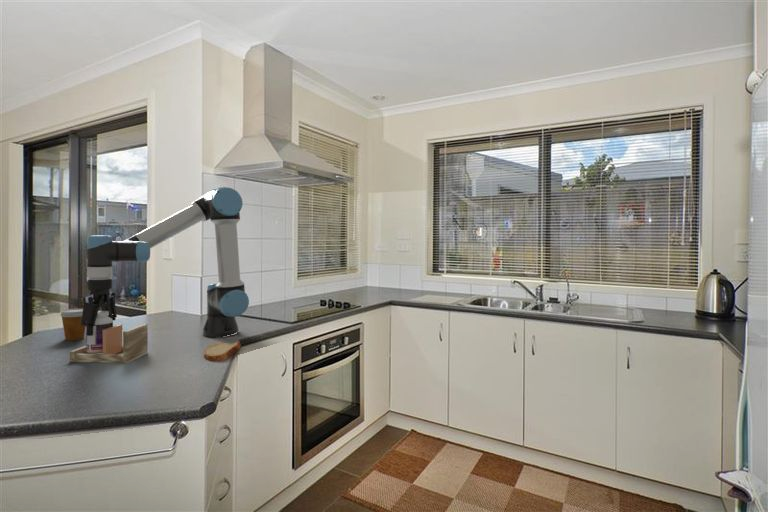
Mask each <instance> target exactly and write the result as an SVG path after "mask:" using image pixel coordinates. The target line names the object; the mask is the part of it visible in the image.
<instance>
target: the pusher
mask: <svg viewBox="0 0 768 512" xmlns="http://www.w3.org/2000/svg"><path fill="white" fill-rule="evenodd" d="M122 346H123V324H119V323H118V324H117V325H113V327H110V328H107V329H104V330H103V354H117V353H119V352H122Z"/></svg>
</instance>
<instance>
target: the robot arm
mask: <svg viewBox="0 0 768 512" xmlns="http://www.w3.org/2000/svg"><path fill="white" fill-rule="evenodd" d="M243 202H244V201H243V198H242V196H241V194H240V192H238V191H237V190H235V188H232V187H228V186H227V187H226V186H225V187H224V186H223V187H222V186H221V187H218V188H215V189H212V190H209V191H208V192H206V193H205V194H203V195H202V196H200V197H199V198H197V199H195V200H194V201H192V202H191V205H189V206H188V207H185V208H184V209H181V210H180V211H178V212H176V213H174V214H172V215H170V216H169V217H167V218H165V219H163V220H161V221H159V222H157V223H154V224H153V225H151V226H150V227H148V228H146V229H143V230H142V231H140V232H138V233H136V234H134V235H132V236H130V237H129V238H126V239H124V240H121V241H118V240H113V236H111V235H96V234H95V235H89V236H88V237H87V240H86V242H87V243H86V264H87V265H86V266H87V267H86V268H87V271H86V273H87V275H86V276H87V277H86V278H87V280H86V289H87V290H88V291H90V293H89V295H88V296H83V298H82V301H83V308H82V309H83V315H82V323H81V325H83V326H86V327H87V345H95V344H96V326H94V324H95V321H96V317H97V313H98V311H100V310H99V309H100V308H101V311H109V315H108V317H110V318H112V320H113V321H116V319H117V314H118V313H117V307H116V292H114V291H110V290H112V289H113V279H112V278H113V263H116V262H124V263H126V262H127V263H128V262H129V263H130V262H131V263H133V262H136V263H141V262H148V261H150V258H151V249H152V248H155V247H156V246H158V245H160V244H162V243H163V242H166V241H167V240H169V239H171V238H172V237H174V236H176V235H177V234H180V233H182V232H183V231H185V230H187V229H189V228H191V227H192V226H195V225H196V224H198V223H200V222H204V223H205V222H206V221H207V222H208V221H209V220H210V222H211V223H213V224H214V232H215V243H216V244H215V246H216V247H215V248H216V259H217V260H216V261H217V273H218V282H217V283H210V284H208V285H207V289H206V310H207V311H206V319H205V323H204V326H203V329H202V335H203V337H207V338H224V337H223V336H227V335H231V334H234V333H236V332H238V331H239V326H238V321H237V320H236V317H237V318H238V316H241V315H242V314H244V313H245V312H246V311H247V310H248V308H249V305H250V299H249V295H248V294H247V292H246V291H245V290H246V288H245V282H243V281H242V280H241V273H240V271H241V270H240V255H239V243H238V242H239V241H238V228H237V227H238V226H237V225H238V223H239V222H240V220H241V216H240V215H241V214H240V212H241V210H242V208H243V204H244V203H243ZM86 327H85V328H86ZM227 337H228V336H227Z"/></svg>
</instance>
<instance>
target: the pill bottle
mask: <svg viewBox="0 0 768 512" xmlns="http://www.w3.org/2000/svg"><path fill="white" fill-rule="evenodd" d="M108 315H109V311H102V310H98V313H97V317H96V321H95V324H94V326H96V344H95V345H87V327H85V337H86V339H85V341H86V343H85V344H86V345H85V346H86V351H87V352H88V353H91V354H99V353H103V330H104V329H107V328H110V327H113V326H114V320H112V318H110V317H108Z"/></svg>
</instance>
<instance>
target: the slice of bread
mask: <svg viewBox="0 0 768 512" xmlns="http://www.w3.org/2000/svg"><path fill="white" fill-rule="evenodd" d="M241 346H242V344H241V342H240V340H237V341H236V342H235V341H234V342H232V343H228V342H224V341H223V342H222V341H216V342H214V343H212V344H210V345H209V346H207V347H206V348H205V349H204V354H203V358H204V359H205V360H207V361H209V362H223V361H227V360H228V359H230V358H231V357H232V356H234V355H235V354H236V353H237V352H238V351H240V349H241Z"/></svg>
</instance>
